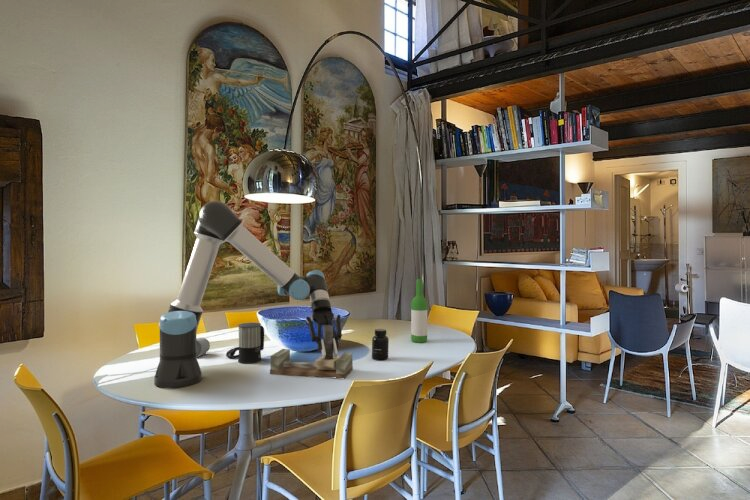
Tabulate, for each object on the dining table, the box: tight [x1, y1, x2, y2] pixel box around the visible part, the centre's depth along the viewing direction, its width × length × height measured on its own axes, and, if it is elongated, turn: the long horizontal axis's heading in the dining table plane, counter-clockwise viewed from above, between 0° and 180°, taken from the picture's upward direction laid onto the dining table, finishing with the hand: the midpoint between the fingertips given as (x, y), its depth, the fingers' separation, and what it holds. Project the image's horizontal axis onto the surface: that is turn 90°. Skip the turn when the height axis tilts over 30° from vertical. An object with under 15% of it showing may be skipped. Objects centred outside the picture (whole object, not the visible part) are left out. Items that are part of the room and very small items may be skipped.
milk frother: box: [225, 322, 265, 364], centre depth 190 cm, size 14×16×15 cm
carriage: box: [314, 324, 341, 370], centre depth 171 cm, size 7×9×16 cm
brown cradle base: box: [269, 348, 354, 379], centre depth 173 cm, size 28×12×6 cm, turn 78°
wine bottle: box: [410, 278, 428, 344], centre depth 224 cm, size 8×8×30 cm
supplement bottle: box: [371, 328, 390, 361], centre depth 192 cm, size 7×7×12 cm
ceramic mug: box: [196, 337, 211, 358], centre depth 196 cm, size 11×8×8 cm
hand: (330, 355), depth 168 cm, fingers closed on carriage, 4 cm apart
